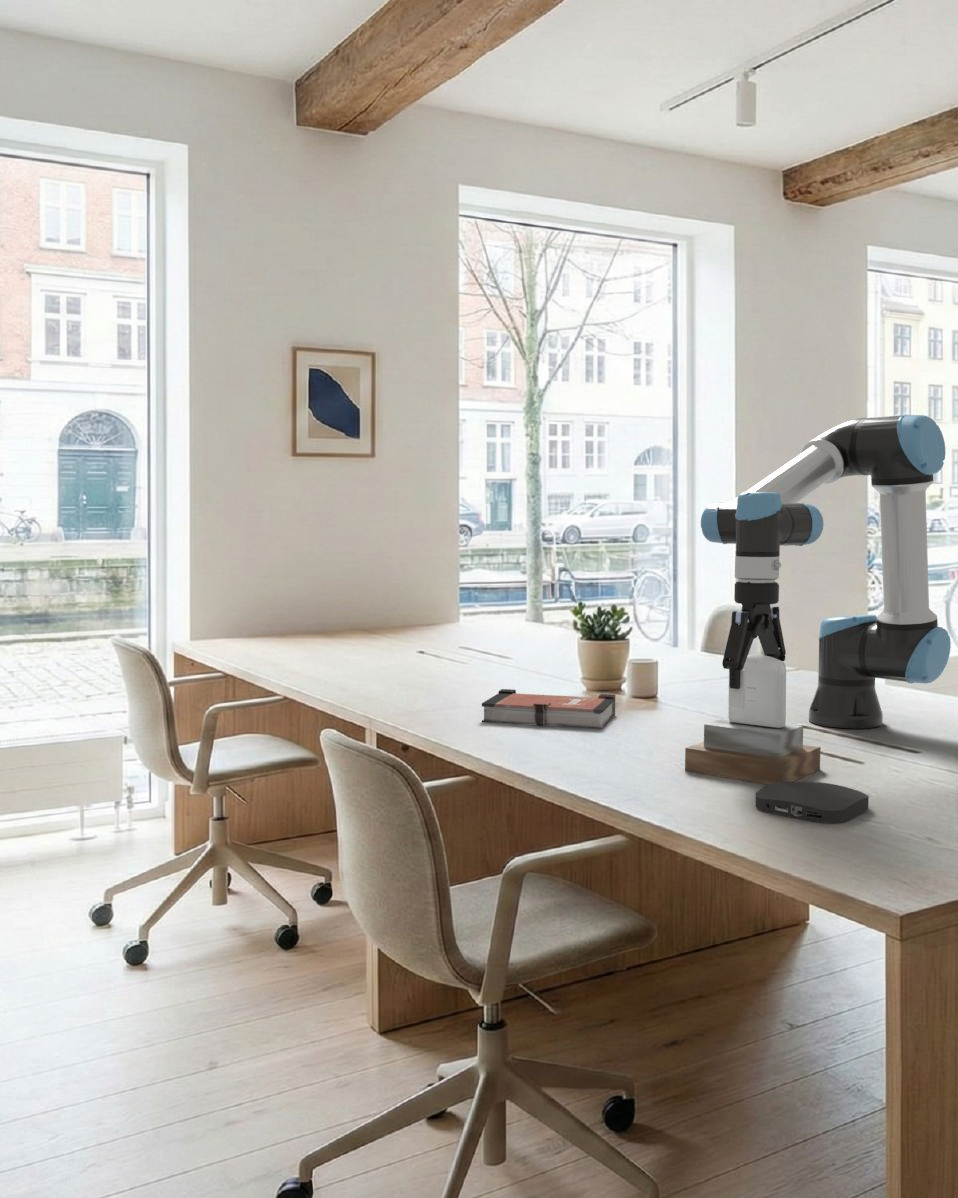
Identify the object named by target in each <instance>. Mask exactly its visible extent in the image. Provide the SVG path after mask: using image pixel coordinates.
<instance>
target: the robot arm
mask: <svg viewBox="0 0 958 1198" xmlns="http://www.w3.org/2000/svg"><path fill="white" fill-rule="evenodd" d="M945 460H946V442H945V438H944V436H943V432H942V430H941V428H940V426H939V425H938V424H937V422H936V421H935V420H934V419H933V418H932V417H929V416H927V415H924V414H923V415H921V414H902V415H891V416H878V417H875V416H874V417H860V418H854V419H850V420H847V421H845V422H842V423H841V424H838V425H836V426H834V427H831V428H830V429H828V430H826V431H824V432H823V433H821V434H819V435H818V436H816V437H814V438H813V439H811V440H810V441H808V442H806V444H805V445H804V446H803V448H802V449H801V453H799V454H798V455H797V456H795V457H794V458H793V459H791V460H790V461H788V462H787V463H785V464H783V465H782V466H781V467H779V468H778V469H777V470H775V471H774V472H772V473H770V474H769V475H767V476H766V477H765V478H764V479H761V481H759V482H757V483H756V484H755V485H753V486H752V487H750V488H748V489H747V490H746V491H743V492H741V493H740V494H738V495H737V497H735V498H734V499H732V500H731V501H729V502H726V503H724V502H719V503H712V504H710V505H707V506H706V507H705V509H704V510H703V512H702V514H701V517H700V528H701V531H702V532H701V533H702V535H703V536H704V538H705V539H706V540H707V541H709V542H711V543H718V544H722V545H729V544H731V545H732V544H734V545H735V556H734V578H735V579H736V580H737V581H736V582H735V583H734V598H733V599H734V602H735V603H736V604H741V610H732V613H731V621H730V622H731V623H730V624H731V625H730V628H729V633H728V637H727V641H726V644H725V645H726V646H725V650H724V653H723V658H722V668H723V669H724V670H728V708H729V707H736V708H745V688H746V670H743V667H744V664H745V662H746V659H747V656H748V655H749V654H750V653H749V652H750V650H751V648H752V644H753V641H754V639H757V637H758V640H759V643H760V646H761V648H762V650H763V651H762V652H763V653H764V654H763V655H765V656H769V657H773V658H776V659H778V660H780V661H782V662H785V661H786V653H787V652H786V646H785V641H784V637H783V630H782V625H781V619H780V607H779V606H774V605H777V604H778V603H779V599H780V584H779V583H778V582H776V580H778V579H779V578H780V568H781V567H782V562H780V553H781V552H780V550H781V546H784V547H785V546H788V547H789V546H795V547H797V546H799V547H802V546H804V545H811V544H813V543H815V542H816V541H817V540H818V539H819V538H820V536H821V535H822V534H823V533H822V532H823V530H824V517H823V514H822V513H821V511H820V510H819V509H818V507H816V506H814V505H812V504H807V503H804V502H799V501H801V500H802V499H804V498H806V496H808V495H810V494H811V493H812V492H814V491H815V490H817V489H818V488H820V487H821V486H822V485H823V484H825V485H826V484H831V483H834V482H836V481H838V479H842V478H844V477H852V476H870V480H871V483H870V484H871V487H872V488H873V489H874V490H876V491H877V492H878V493H879V505H880V506H879V508H880V509H879V510H880V534H881V535H880V536H881V537H880V538H881V562H882V563H881V564H882V566H881V567H882V586H883V587H882V588H883V589H882V590H883V591H882V592H883V610H882V611H881V612H880V613H879V614H878V615H876V614H862V615H861V614H859V615H848V616H846V615H844V616H835V617H828V618H825V619H823V620H822V621H821V623H820V625H819V635H818V670H817V671H818V674H817V675H818V676H817V677H818V679H817V680H818V681H817V688H816V691H815V694H814V696H813V699H812V702H811V704H810V707H809V709H808V721H809V722H810V723H813V724H815V725H819V726H823V727H828V728H829V727H830V728H839V729H872V728H878V727H881V726H883V724H884V723H883V721H884V720H883V718H884V716H883V710H882V708H881V704H880V700H879V698H878V695H877V691H876V679H882V680H890V681H896V682H905V683H908V684H931V683H933V682H935V681H937V679H938V678H940V676H941V675H942V674H943V673H944V670H945V668H946V667H947V664H948V661H949V660H950V659H949V658H950V655H951V654H950V653H951V637H950V635H949V632H948V630H947V629H945V628H943V627H941V626H938V625H939V624H938V615H937V614H936V613H935V612H934V611H932V609H930V597H929V596H930V595H929V594H930V593H929V592H930V591H929V565H928V563H929V561H928V559H929V558H928V530H927V529H928V527H927V525H928V523H927V500H926V499H927V497H926V495H927V494H926V491H927V489H928V488H929V487H931V485H932V484H933V483H934V475H936V474H937V473H939V472H940V471H941V470H942V468H943V466H944V464H945V463H944V461H945Z"/></svg>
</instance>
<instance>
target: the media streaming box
mask: <svg viewBox="0 0 958 1198" xmlns="http://www.w3.org/2000/svg"><path fill="white" fill-rule="evenodd" d="M869 798H870V796H869V795H868V794H866V793H864V792H862V791H859V790H857V789H854V788H850V787H847V786H843V785H839V784H833V783H828V782H819V781H793V782H777V783H772V784H769V785H768V784H766V785H765V786H763V787H762V788H760V789H759V790H757V791H756V792H755V801H754V802H755V804H754V805H755V808H756V809H757V810H759V811H762V812H764V813H767V814H773V815H778V816H782V817H788V818H793V819H799V820H803V821H809V822H815V823H819V824H820V823H821V824H840V823H846V822H848V821H851V820H853V819H855V818H857V817H858V816H860V815H862V814H864V813H865V812H867V811H869Z"/></svg>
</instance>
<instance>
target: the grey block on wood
mask: <svg viewBox="0 0 958 1198" xmlns="http://www.w3.org/2000/svg"><path fill="white" fill-rule="evenodd" d="M821 749H822V747H821V746H815V745H809V744H804V725H799V724H798V725H797V724H793V723H785V727H782V728H773V727H765V726H758V725H749V724H741V723H731V722H730V721H729V716H727V717H724V718H723V717H722V718H720V719H717V720H715V721H711V722H708V723H705V724H704V725H703V741H702V742H699V743H696V744H693V745H689V746H688V747H685V751H684V752H685V753H684V771H687V772H692V773H698V774H704V775H711V776H716V777H722V778H727V779H734V780H739V781H746V782H752V783H756V784H763V785H769V784H772V783H777V782H796V781H797V780H799V779H802V778H803V777H806V776H808V775H810V774H813V773H815V772H818V771H819V770H821Z"/></svg>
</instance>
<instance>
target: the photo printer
mask: <svg viewBox="0 0 958 1198" xmlns="http://www.w3.org/2000/svg"><path fill="white" fill-rule="evenodd" d="M786 667H787V666H786V663H785V661H780V660H778V659H776V658H773V657H769V656H765V654H748V656H747V659H746V662H745V664H744V667H743V670H746V688H745V708H736V707H729V706H728V717H729V721H730V722H731V723H741V724H749V725H758V726H765V727H773V728H782V727H785V724H786V721H787V720H786V719H787V718H786V717H787V715H786V714H787V668H786Z"/></svg>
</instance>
